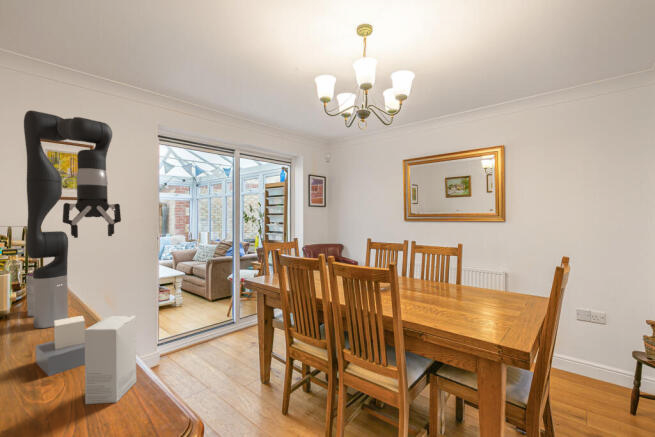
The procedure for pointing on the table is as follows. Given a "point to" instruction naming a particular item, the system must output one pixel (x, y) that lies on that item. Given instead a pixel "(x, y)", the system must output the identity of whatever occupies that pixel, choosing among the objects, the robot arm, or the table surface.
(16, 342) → the table surface
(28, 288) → the candy bar box
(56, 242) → the robot arm
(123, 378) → the skincare box
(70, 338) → the cream block
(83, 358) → the slate block
